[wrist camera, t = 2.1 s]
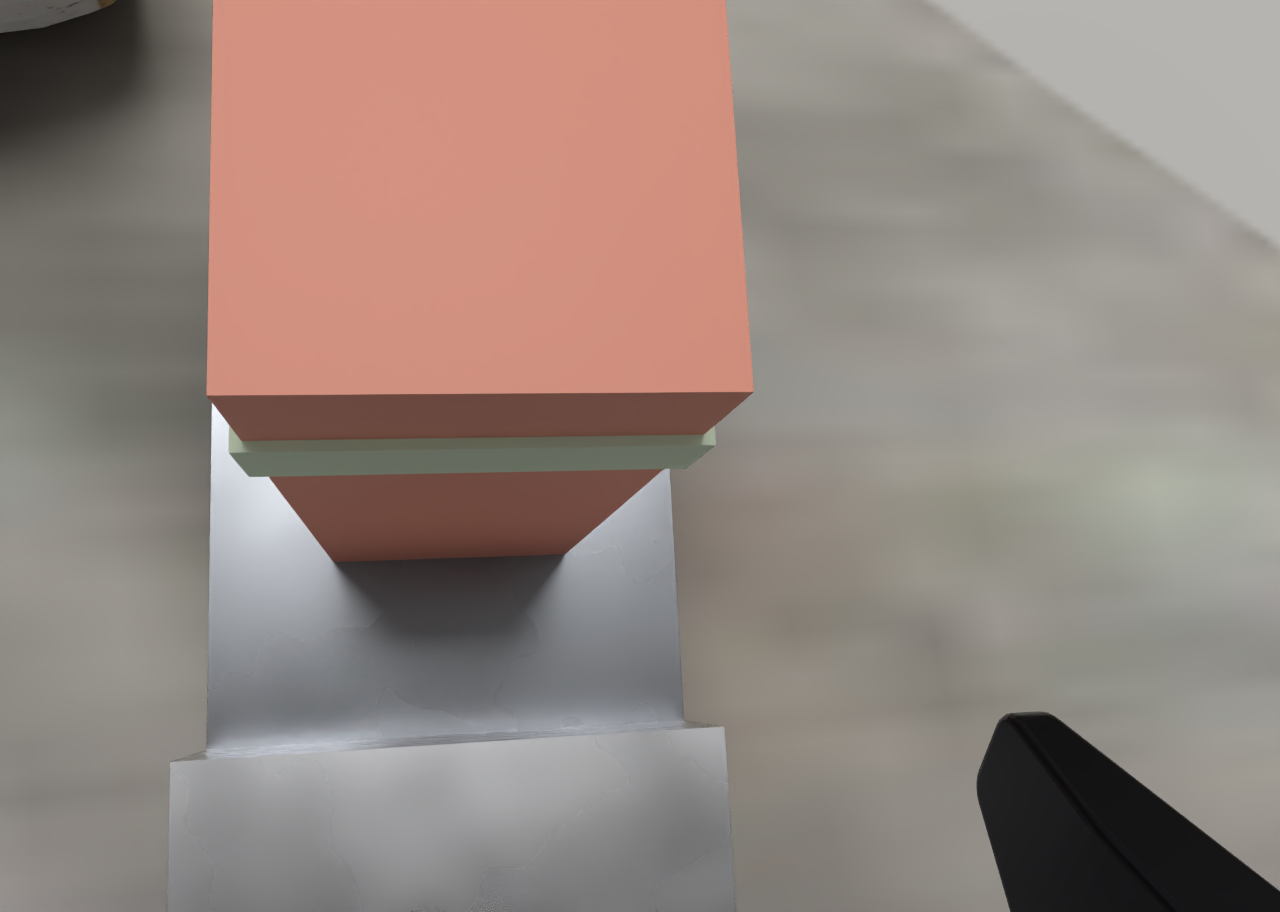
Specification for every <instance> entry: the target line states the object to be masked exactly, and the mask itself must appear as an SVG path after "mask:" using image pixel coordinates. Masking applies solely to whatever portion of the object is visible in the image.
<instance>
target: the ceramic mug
mask: <svg viewBox="0 0 1280 912" xmlns="http://www.w3.org/2000/svg"><path fill="white" fill-rule="evenodd" d="M115 1H116V0H0V33H3V32H11V31H20V30H28V29H36V28H44V27H47V26H50V25H53V24H56V23H60V22H63V21H66V20H69V19H73V18H76V17H79V16H82V15H86V14H89V13H91V12H94V11H97V10H99V9H102V8H105V7H107V6H110V5H111V4H112V3H114V2H115Z"/></svg>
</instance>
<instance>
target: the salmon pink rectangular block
mask: <svg viewBox="0 0 1280 912" xmlns="http://www.w3.org/2000/svg"><path fill="white" fill-rule="evenodd" d="M753 392H754V389H753V375H752V361H751V347H750V333H749V319H748V305H747V291H746V278H745V264H744V250H743V236H742V222H741V208H740V194H739V180H738V166H737V152H736V139H735V125H734V111H733V97H732V83H731V69H730V55H729V41H728V27H727V13H726V0H213V47H212V107H211V167H210V227H209V287H208V347H207V397H208V398H209V399H210V401H211V402H212V403H213V404H214V406H215V407H216V408H217V410H218V411H219V412H220V414H221V415H222V416H223V418H224V419H225V420H226V422H227V423H228V424H229V454H230V455H231V456H232V457H233V459H234V460H235V461H236V462H237V463H238V464H239V466H240V467H241V468H242V469H243V470H244V471H245V473H246V474H247V475H248V476H249V477H269V478H270V479H271V481H272V482H273V483H274V485H275V486H276V487H277V489H278V490H279V491H280V493H281V494H282V495H283V497H284V498H285V499H286V501H287V502H288V503H289V505H290V506H291V507H292V508H293V510H294V511H295V512H296V514H297V515H298V516H299V518H300V519H301V520H302V522H303V523H304V524H305V526H306V527H307V528H308V530H309V531H310V532H311V533H312V535H313V536H314V537H315V539H316V540H317V541H318V543H319V544H320V545H321V547H322V548H323V549H324V551H325V552H326V553H327V555H328V556H329V557H330V558H331V560H332V561H333V562H352V561H382V560H412V559H441V558H471V557H501V556H531V555H561V554H566V553H567V552H569V551H570V550H571V549H572V548H573V547H574V546H576V545H577V544H578V543H579V542H580V541H581V540H582V539H584V538H585V537H586V536H587V535H588V534H589V533H591V532H592V531H593V530H594V529H595V528H596V527H598V526H599V525H600V524H601V523H602V522H603V521H605V520H606V519H607V518H608V517H609V516H610V515H611V514H613V513H614V512H615V511H616V510H617V509H618V508H620V507H621V506H622V505H623V504H624V503H625V502H627V501H628V500H629V499H630V498H631V497H632V496H634V495H635V494H636V493H637V492H638V491H639V490H640V489H642V488H643V487H644V486H645V485H646V484H647V483H649V482H650V481H651V480H652V479H653V478H654V477H656V476H657V475H658V474H659V473H660V472H661V471H663V470H664V469H686V468H688V467H689V466H690V465H691V464H693V463H694V462H695V461H696V460H698V459H699V458H700V457H701V456H703V455H704V454H705V453H706V452H708V451H709V450H710V449H711V448H713V447H714V446H715V445H716V442H715V427H714V426H715V425H716V424H717V423H718V422H719V421H721V420H722V419H723V418H724V417H725V416H726V415H727V414H729V413H730V412H731V411H732V410H733V409H734V408H736V407H737V406H738V405H739V404H740V403H741V402H743V401H744V400H745V399H746V398H747V397H748V396H750V395H751V394H752V393H753Z"/></svg>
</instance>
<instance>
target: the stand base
mask: <svg viewBox="0 0 1280 912" xmlns="http://www.w3.org/2000/svg"><path fill="white" fill-rule="evenodd" d="M167 912H736V902H735V886H734V871H733V855H732V839H731V824H730V808H729V792H728V777H727V761H726V745H725V730H724V726H718V725H712V724H705V723H699V722H693V721H687V720H684V713H683V696H682V678H681V661H680V644H679V626H678V609H677V592H676V574H675V557H674V539H673V522H672V505H671V487H670V470H669V469H664V470H663V471H661V472H660V473H659V474H658V475H657V476H656V477H654V478H653V479H652V480H651V481H650V482H649V483H647V484H646V485H645V486H644V487H643V488H642V489H640V490H639V491H638V492H637V493H636V494H635V495H634V496H632V497H631V498H630V499H629V500H628V501H627V502H625V503H624V504H623V505H622V506H621V507H620V508H618V509H617V510H616V511H615V512H614V513H613V514H611V515H610V516H609V517H608V518H607V519H606V520H605V521H603V522H602V523H601V524H600V525H599V526H598V527H596V528H595V529H594V530H593V531H592V532H591V533H589V534H588V535H587V536H586V537H585V538H584V539H582V540H581V541H580V542H579V543H578V544H577V545H576V546H574V547H573V548H572V549H571V550H570V551H569V552H567V553H566V554H561V555H531V556H501V557H471V558H441V559H412V560H382V561H352V562H333V561H332V560H331V558H330V557H329V556H328V555H327V553H326V552H325V551H324V549H323V548H322V547H321V545H320V544H319V543H318V541H317V540H316V539H315V537H314V536H313V535H312V533H311V532H310V531H309V530H308V528H307V527H306V526H305V524H304V523H303V522H302V520H301V519H300V518H299V516H298V515H297V514H296V512H295V511H294V510H293V508H292V507H291V506H290V505H289V503H288V502H287V501H286V499H285V498H284V497H283V495H282V494H281V493H280V491H279V490H278V489H277V487H276V486H275V485H274V483H273V482H272V481H271V479H270V478H269V477H249V476H248V475H247V474H246V473H245V471H244V470H243V469H242V468H241V467H240V466H239V464H238V463H237V462H236V461H235V460H234V459H233V457H232V456H231V455H230V454H229V424H228V423H227V422H226V420H225V419H224V418H223V416H222V415H221V414H220V412H219V411H218V410H217V408H216V407H215V406H214V404H213V403H212V443H211V507H210V570H209V634H208V697H207V750H205V751H202V752H199V753H196V754H193V755H190V756H187V757H184V758H181V759H178V760H175V761H172V762H170V807H169V854H168V901H167Z"/></svg>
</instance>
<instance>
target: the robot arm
mask: <svg viewBox="0 0 1280 912" xmlns="http://www.w3.org/2000/svg"><path fill="white" fill-rule="evenodd" d="M977 796H978V801H979V805H980V808H981V812H982V815H983V819H984V822H985V826H986V829H987V832H988V836H989V839H990V843H991V846H992V850H993V853H994V857H995V860H996V864H997V867H998V871H999V874H1000V877H1001V881H1002V884H1003V888H1004V891H1005V895H1006V898H1007V902H1008V905H1009V909H1010V912H1280V891H1279V890H1278V889H1277V888H1275V887H1274V886H1273V885H1271V884H1270V883H1269V882H1268V881H1266V880H1265V879H1264V878H1262V877H1261V876H1260V875H1259V874H1257V873H1256V872H1255V871H1253V870H1252V869H1251V868H1250V867H1248V866H1247V865H1246V864H1244V863H1243V862H1242V861H1241V860H1239V859H1238V858H1237V857H1235V856H1234V855H1233V854H1232V853H1230V852H1229V851H1228V850H1226V849H1225V848H1224V847H1223V846H1221V845H1220V844H1219V843H1217V842H1216V841H1215V840H1214V839H1212V838H1211V837H1210V836H1208V835H1207V834H1206V833H1205V832H1203V831H1202V830H1201V829H1199V828H1198V827H1197V826H1196V825H1194V824H1193V823H1192V822H1190V821H1189V820H1188V819H1187V818H1185V817H1184V816H1183V815H1181V814H1180V813H1179V812H1178V811H1176V810H1175V809H1174V808H1172V807H1171V806H1170V805H1169V804H1167V803H1166V802H1165V801H1163V800H1162V799H1161V798H1160V797H1158V796H1157V795H1156V794H1154V793H1153V792H1152V791H1151V790H1149V789H1148V788H1147V787H1145V786H1144V785H1143V784H1142V783H1140V782H1139V781H1138V780H1136V779H1135V778H1134V777H1133V776H1131V775H1130V774H1129V773H1127V772H1126V771H1125V770H1124V769H1122V768H1121V767H1120V766H1118V765H1117V764H1116V763H1115V762H1113V761H1112V760H1111V759H1109V758H1108V757H1107V756H1106V755H1104V754H1103V753H1102V752H1100V751H1099V750H1098V749H1097V748H1095V747H1094V746H1093V745H1091V744H1090V743H1089V742H1088V741H1086V740H1085V739H1084V738H1082V737H1081V736H1080V735H1079V734H1077V733H1076V732H1075V731H1073V730H1072V729H1071V728H1070V727H1068V726H1067V725H1066V724H1064V723H1063V722H1062V721H1061V720H1059V719H1058V718H1056V717H1055V716H1053V715H1051V714H1049V713H1046V712H1022V713H1010V714H1006V715H1005V716H1003V717H1002V718H1001V719H1000V720H999V722H998V724H997V726H996V728H995V731H994V733H993V736H992V738H991V741H990V743H989V746H988V749H987V751H986V754H985V756H984V759H983V761H982V764H981V766H980V769H979V772H978V776H977Z"/></svg>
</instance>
